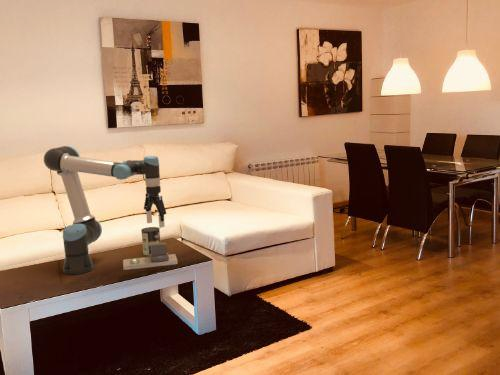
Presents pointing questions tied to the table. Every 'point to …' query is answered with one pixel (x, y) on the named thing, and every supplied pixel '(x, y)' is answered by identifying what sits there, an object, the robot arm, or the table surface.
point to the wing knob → (159, 252)
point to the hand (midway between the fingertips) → (155, 225)
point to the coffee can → (150, 238)
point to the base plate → (147, 262)
